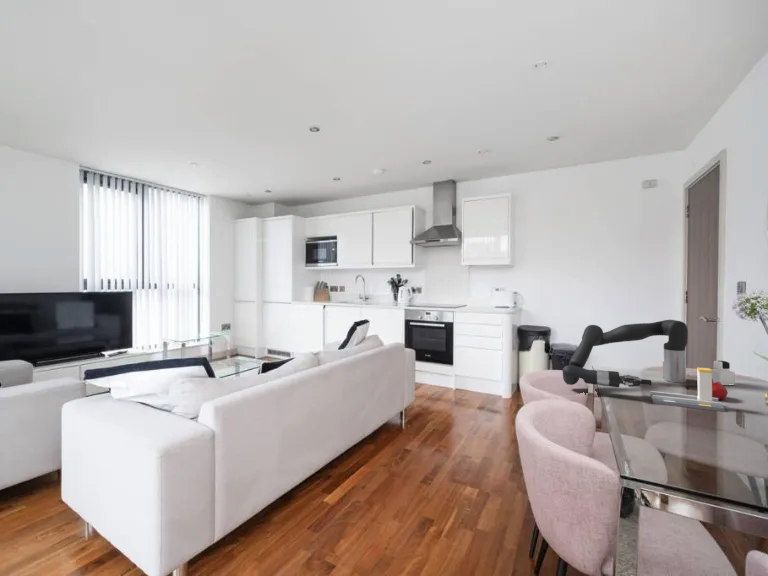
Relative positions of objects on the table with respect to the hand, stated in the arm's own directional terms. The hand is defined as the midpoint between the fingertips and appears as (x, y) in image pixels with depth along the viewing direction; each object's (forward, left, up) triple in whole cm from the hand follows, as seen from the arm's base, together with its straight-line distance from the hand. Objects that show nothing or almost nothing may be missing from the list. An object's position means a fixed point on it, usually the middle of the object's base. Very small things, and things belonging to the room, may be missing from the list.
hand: (651, 382), depth 165 cm
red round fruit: (0, +28, -8) cm, 30 cm away
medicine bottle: (-20, +51, -8) cm, 56 cm away
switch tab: (+9, +16, -6) cm, 20 cm away
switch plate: (+6, +10, -8) cm, 14 cm away
